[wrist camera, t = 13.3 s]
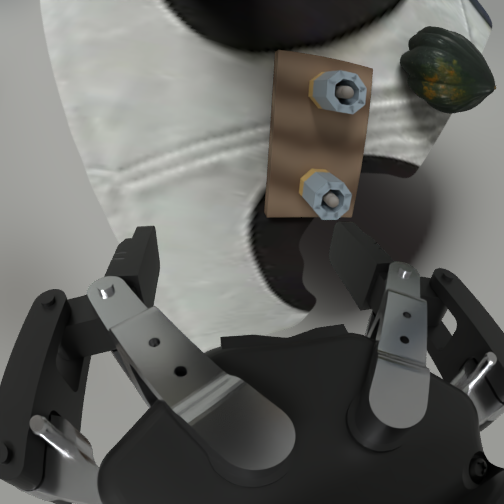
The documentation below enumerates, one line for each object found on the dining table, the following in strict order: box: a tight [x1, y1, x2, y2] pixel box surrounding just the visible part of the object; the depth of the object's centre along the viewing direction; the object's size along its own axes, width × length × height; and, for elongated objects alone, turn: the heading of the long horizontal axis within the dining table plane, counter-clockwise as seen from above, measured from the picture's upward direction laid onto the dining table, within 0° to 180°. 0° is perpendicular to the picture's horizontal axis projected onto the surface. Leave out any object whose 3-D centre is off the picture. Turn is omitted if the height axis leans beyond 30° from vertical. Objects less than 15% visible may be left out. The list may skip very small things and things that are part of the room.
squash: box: [400, 26, 496, 113], centre depth 27 cm, size 14×15×15 cm
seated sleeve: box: [308, 70, 367, 114], centre depth 30 cm, size 5×5×6 cm
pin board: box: [264, 50, 373, 217], centre depth 34 cm, size 24×14×9 cm, turn 177°
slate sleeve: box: [299, 169, 352, 220], centre depth 37 cm, size 5×5×6 cm
